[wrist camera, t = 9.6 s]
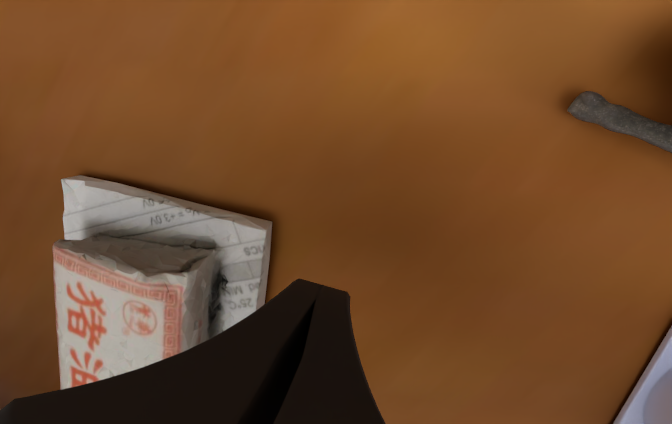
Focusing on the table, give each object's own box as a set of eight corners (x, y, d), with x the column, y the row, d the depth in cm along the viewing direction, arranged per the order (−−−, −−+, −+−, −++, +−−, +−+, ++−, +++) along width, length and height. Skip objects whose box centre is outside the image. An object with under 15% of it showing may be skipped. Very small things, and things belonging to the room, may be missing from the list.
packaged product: (208, 573, 23) (29, 516, 24) (242, 486, 28) (90, 442, 29) (241, 263, 16) (-10, 202, 17) (279, 215, 21) (78, 168, 22)
